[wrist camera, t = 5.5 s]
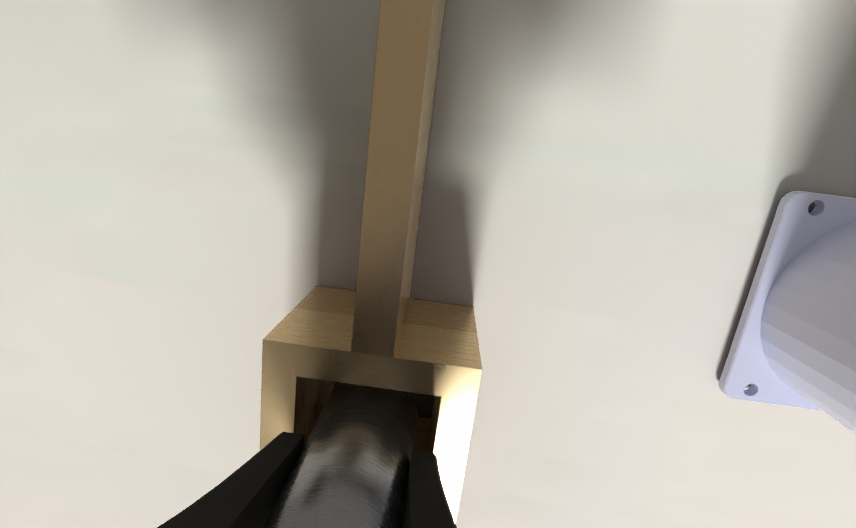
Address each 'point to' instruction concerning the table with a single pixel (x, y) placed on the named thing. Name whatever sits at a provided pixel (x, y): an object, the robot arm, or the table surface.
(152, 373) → the table surface
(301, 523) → the pin
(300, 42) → the table surface
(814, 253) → the robot arm
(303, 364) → the tan wooden bar
